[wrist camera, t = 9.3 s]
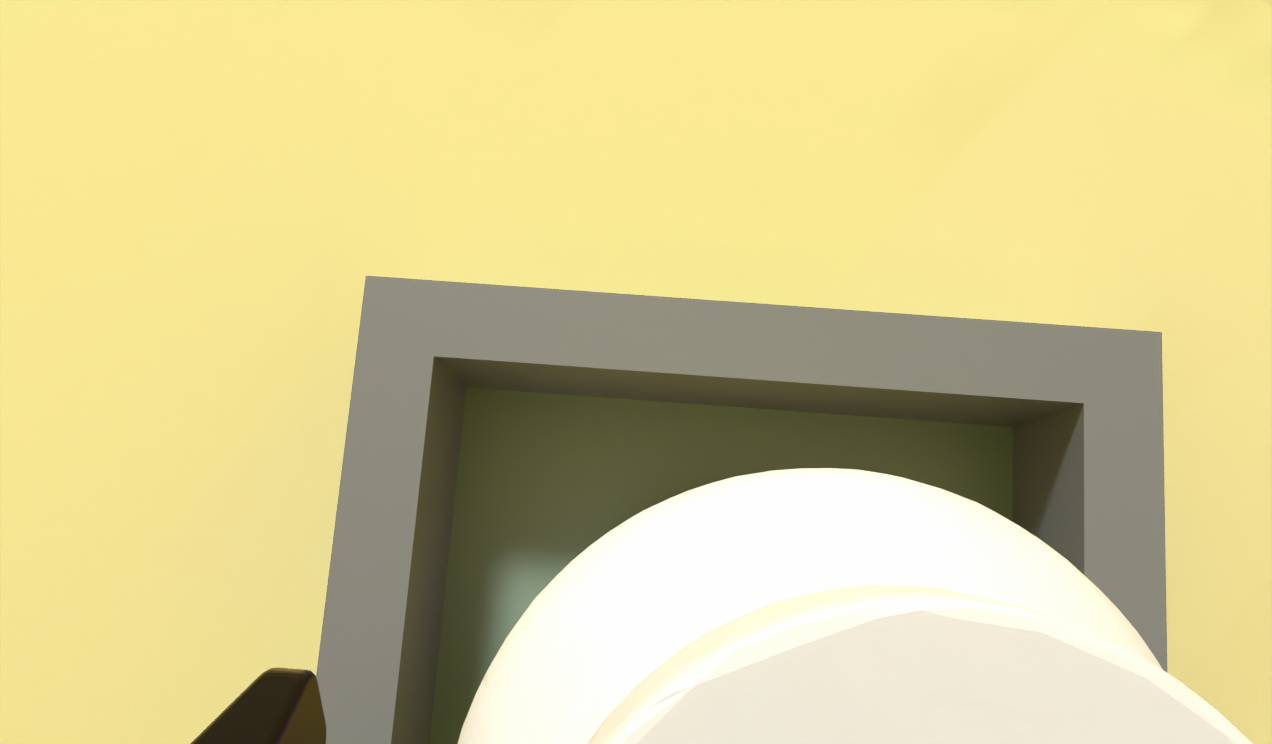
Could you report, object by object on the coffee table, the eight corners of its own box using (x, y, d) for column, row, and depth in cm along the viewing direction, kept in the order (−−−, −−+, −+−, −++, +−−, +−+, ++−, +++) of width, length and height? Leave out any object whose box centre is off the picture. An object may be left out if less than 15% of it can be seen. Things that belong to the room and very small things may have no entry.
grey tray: (1065, 1018, 17) (1174, 1137, 14) (343, 959, 18) (268, 1061, 14) (1066, 373, 19) (1161, 332, 16) (416, 326, 20) (365, 275, 16)
